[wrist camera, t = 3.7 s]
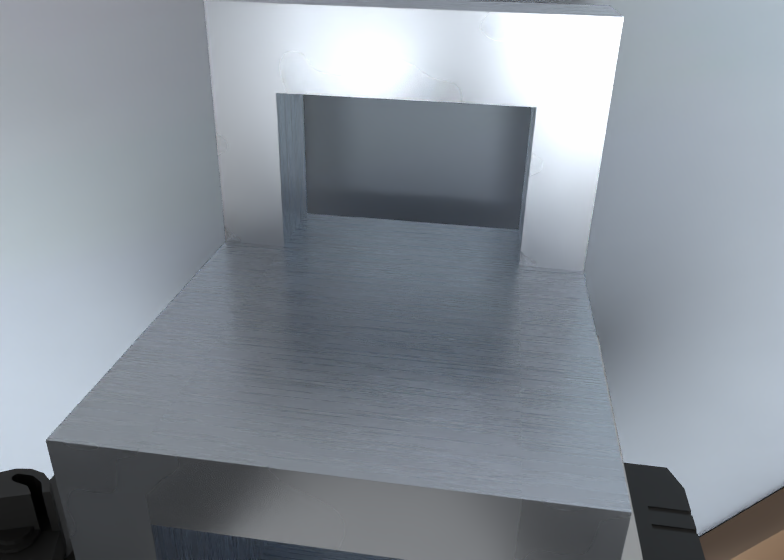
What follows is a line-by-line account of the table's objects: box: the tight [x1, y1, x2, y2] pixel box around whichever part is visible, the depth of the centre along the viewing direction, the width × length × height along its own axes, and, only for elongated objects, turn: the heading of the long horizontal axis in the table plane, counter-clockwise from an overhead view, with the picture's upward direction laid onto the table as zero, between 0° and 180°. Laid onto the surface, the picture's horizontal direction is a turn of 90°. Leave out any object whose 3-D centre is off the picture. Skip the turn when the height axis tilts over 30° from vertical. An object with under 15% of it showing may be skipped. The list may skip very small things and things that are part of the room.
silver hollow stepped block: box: [46, 0, 632, 560], centre depth 13 cm, size 16×7×8 cm, turn 179°
